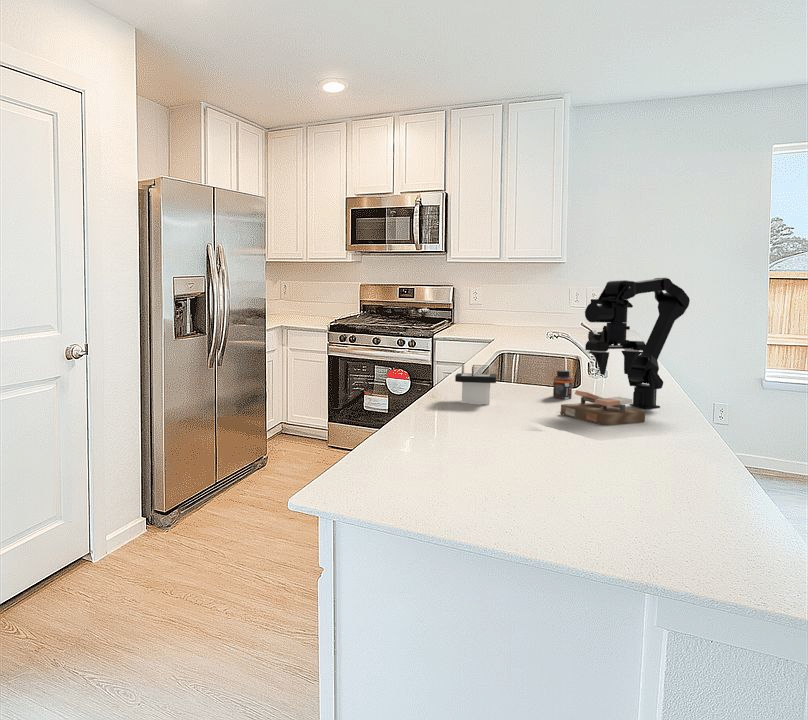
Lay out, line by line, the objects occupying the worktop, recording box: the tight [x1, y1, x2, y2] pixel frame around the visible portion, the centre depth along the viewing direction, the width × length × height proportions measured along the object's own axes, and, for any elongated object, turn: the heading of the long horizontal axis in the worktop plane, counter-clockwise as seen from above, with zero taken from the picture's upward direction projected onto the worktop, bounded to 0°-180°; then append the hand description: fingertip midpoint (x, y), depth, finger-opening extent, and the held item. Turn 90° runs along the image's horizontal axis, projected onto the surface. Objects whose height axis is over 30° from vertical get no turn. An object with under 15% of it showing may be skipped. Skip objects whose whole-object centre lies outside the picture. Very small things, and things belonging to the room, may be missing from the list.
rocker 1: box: [574, 390, 604, 403], centre depth 175 cm, size 9×6×2 cm, turn 114°
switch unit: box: [560, 396, 646, 426], centre depth 171 cm, size 15×18×5 cm
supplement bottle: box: [552, 369, 573, 400], centre depth 196 cm, size 6×6×11 cm
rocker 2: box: [595, 396, 633, 408], centre depth 167 cm, size 9×6×2 cm, turn 114°
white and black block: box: [454, 364, 497, 406], centre depth 190 cm, size 28×26×13 cm
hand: (614, 374), depth 177 cm, fingers open, 9 cm apart
